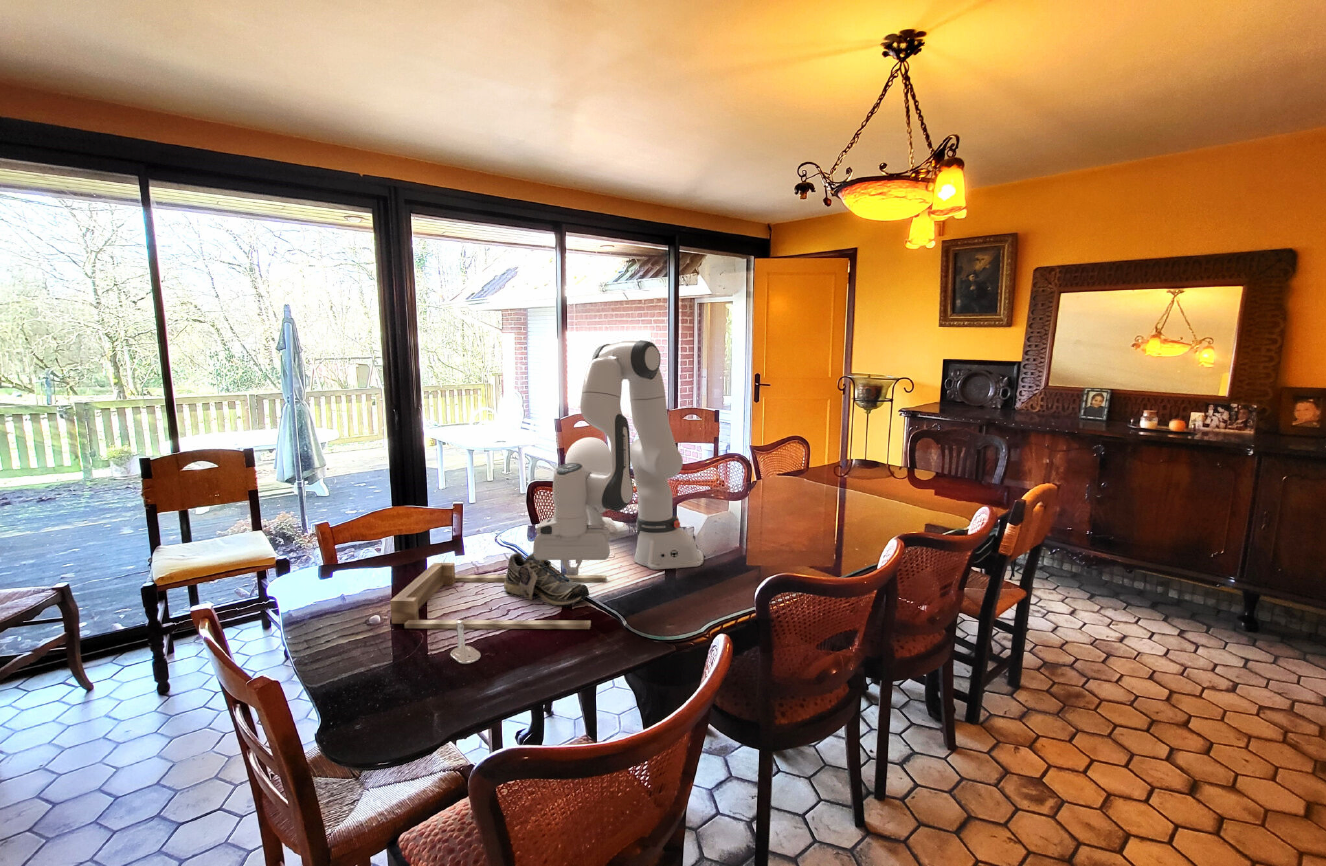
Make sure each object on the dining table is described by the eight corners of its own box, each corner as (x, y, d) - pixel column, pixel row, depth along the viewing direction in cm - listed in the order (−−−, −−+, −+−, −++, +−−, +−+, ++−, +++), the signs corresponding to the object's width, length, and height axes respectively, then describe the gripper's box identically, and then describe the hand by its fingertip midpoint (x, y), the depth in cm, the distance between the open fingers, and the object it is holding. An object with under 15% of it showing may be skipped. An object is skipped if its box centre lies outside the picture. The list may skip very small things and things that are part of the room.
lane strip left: (590, 625, 144) (590, 620, 143) (589, 628, 142) (589, 624, 141) (408, 624, 145) (408, 619, 145) (404, 628, 143) (404, 623, 143)
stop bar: (455, 582, 171) (454, 562, 171) (415, 623, 146) (413, 600, 145) (435, 582, 172) (434, 562, 171) (392, 623, 146) (390, 600, 145)
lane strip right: (606, 578, 172) (606, 575, 172) (605, 581, 170) (605, 577, 170) (454, 578, 174) (453, 575, 174) (451, 581, 172) (451, 577, 172)
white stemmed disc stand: (463, 666, 126) (446, 653, 131) (484, 657, 129) (467, 645, 135) (461, 633, 125) (444, 621, 130) (482, 625, 128) (464, 614, 134)
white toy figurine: (628, 527, 222) (626, 437, 217) (579, 541, 206) (575, 444, 201) (597, 517, 236) (594, 432, 231) (548, 529, 221) (544, 438, 216)
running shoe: (574, 615, 150) (572, 570, 148) (490, 597, 161) (488, 555, 159) (599, 596, 160) (597, 554, 159) (519, 581, 172) (516, 542, 170)
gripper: (611, 521, 157) (612, 570, 159) (536, 521, 157) (538, 570, 159) (608, 528, 151) (609, 579, 152) (530, 528, 151) (532, 579, 153)
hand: (572, 574), depth 156 cm, fingers closed
